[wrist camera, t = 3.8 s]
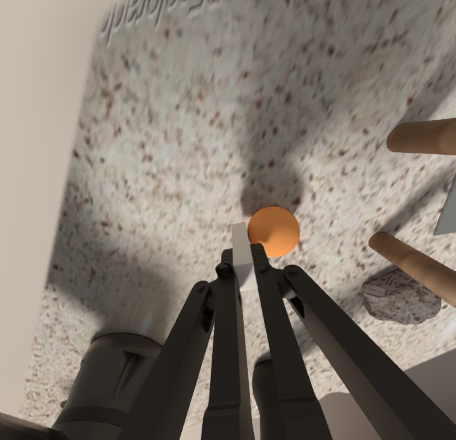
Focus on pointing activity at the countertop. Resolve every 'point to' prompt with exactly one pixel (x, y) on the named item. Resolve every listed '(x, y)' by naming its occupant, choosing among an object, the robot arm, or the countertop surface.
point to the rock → (400, 299)
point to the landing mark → (448, 214)
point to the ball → (274, 230)
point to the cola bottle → (268, 402)
